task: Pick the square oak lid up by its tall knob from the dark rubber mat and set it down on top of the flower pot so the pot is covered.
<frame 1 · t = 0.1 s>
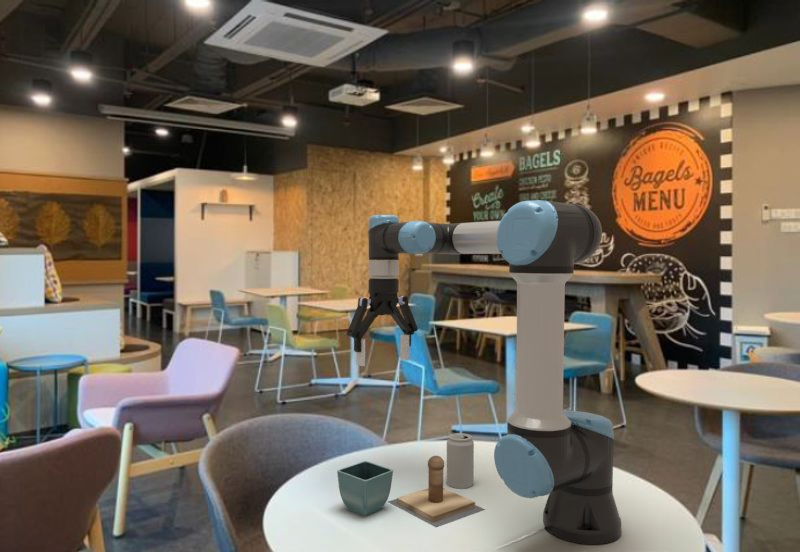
hand: (383, 362, 152), 28 cm above the table, fingers open, 13 cm apart
beverage can: (459, 487, 144), on the table
mat: (435, 508, 132), on the table
flower pot: (365, 512, 130), on the table
lid: (435, 505, 132), point 1 cm above the table, touching mat
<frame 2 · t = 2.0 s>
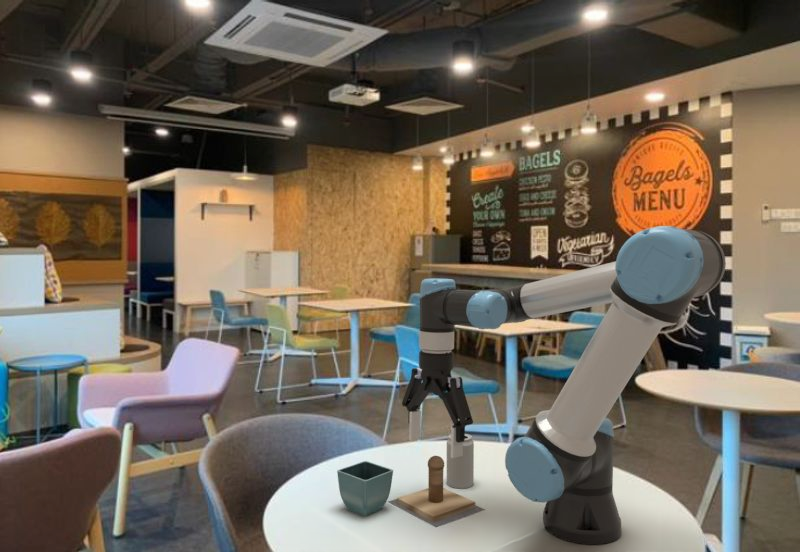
hand: (434, 448, 131), 13 cm above the table, fingers open, 13 cm apart
nothing on the table moved.
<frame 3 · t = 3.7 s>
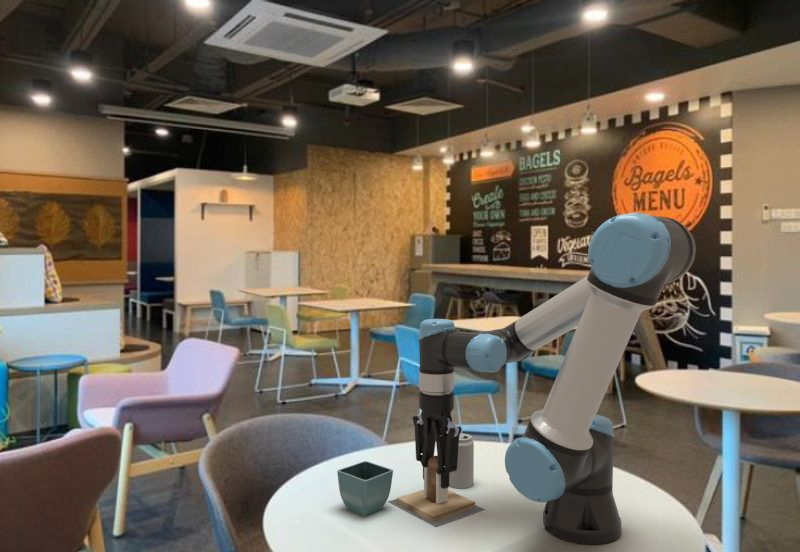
hand: (435, 498, 132), 2 cm above the table, fingers closed on lid, 3 cm apart
lid: (435, 505, 132), point 1 cm above the table, touching gripper, mat
everything else where it was.
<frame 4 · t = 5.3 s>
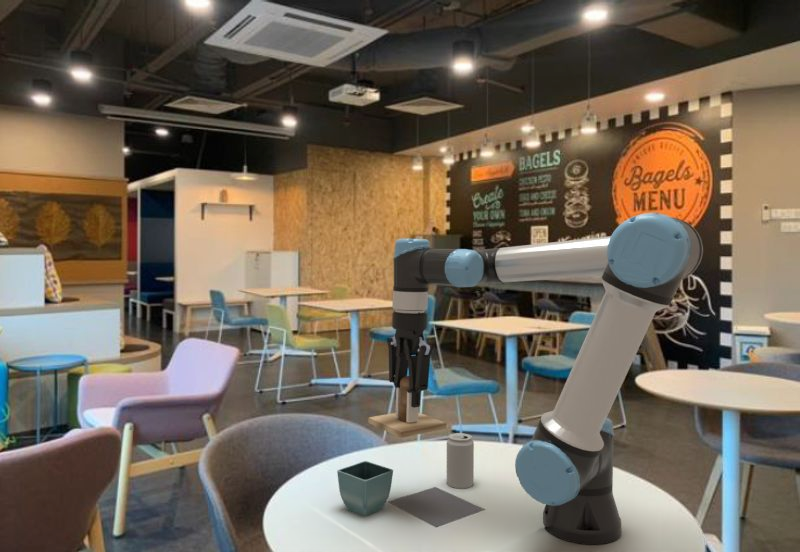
hand: (406, 418, 131), 19 cm above the table, fingers closed on lid, 3 cm apart
lid: (406, 425, 131), point 18 cm above the table, touching gripper
everything else where it was.
when the fingers open (12 cm above the table, at t = 6.9 s): lid drops 2 cm, resting on flower pot.
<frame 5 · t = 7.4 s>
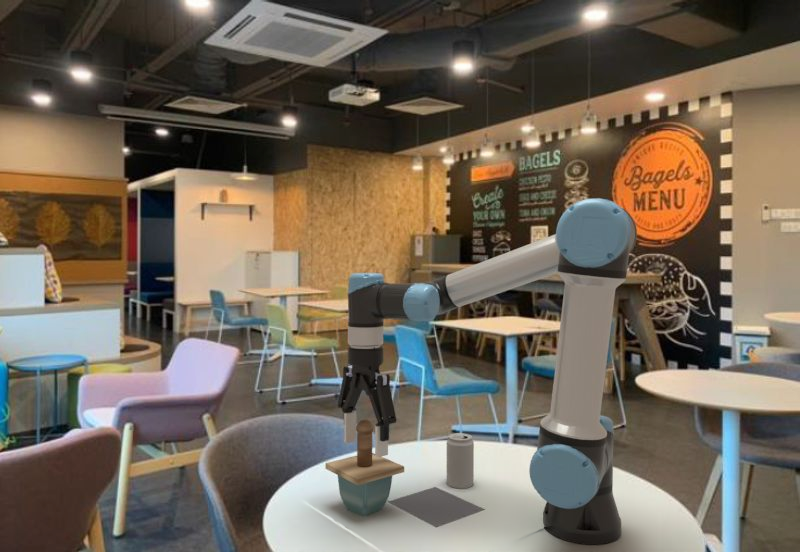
hand: (365, 448, 129), 13 cm above the table, fingers open, 11 cm apart
flower pot: (365, 512, 130), on the table, touching lid
lid: (364, 470, 129), point 9 cm above the table, touching flower pot
everything else where it was.
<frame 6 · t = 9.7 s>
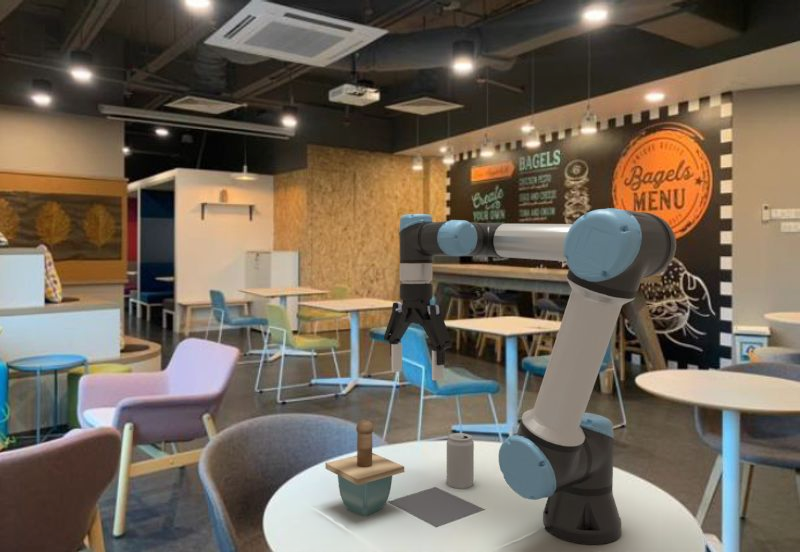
hand: (416, 375, 139), 27 cm above the table, fingers open, 13 cm apart
nothing on the table moved.
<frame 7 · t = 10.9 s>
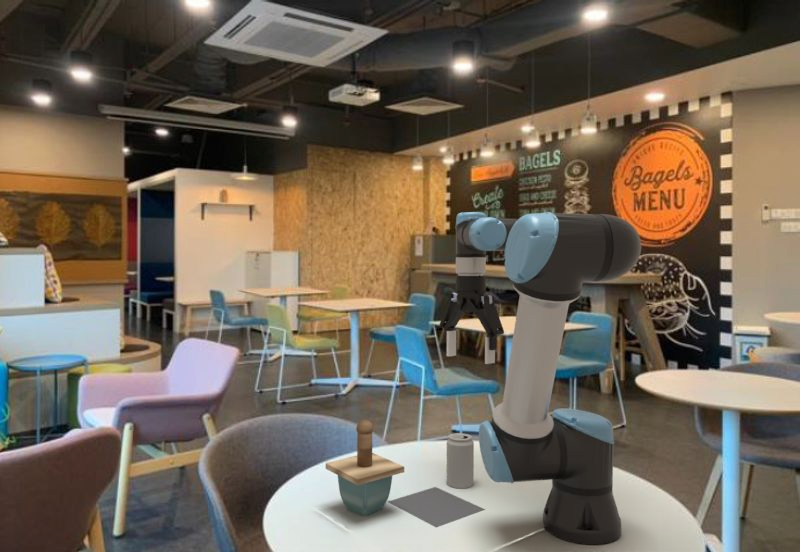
hand: (469, 359, 152), 29 cm above the table, fingers open, 13 cm apart
nothing on the table moved.
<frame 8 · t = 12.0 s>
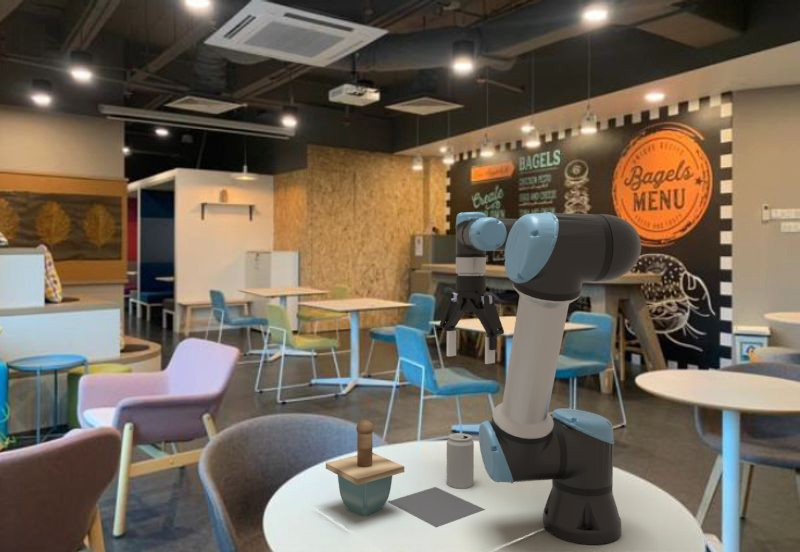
hand: (470, 359, 152), 29 cm above the table, fingers open, 13 cm apart
nothing on the table moved.
at the end: lid inside the target area on the flower pot (0.2 cm from its centre), point 9.1 cm above the flower pot's base; lid tilted 0°; the gripper is holding nothing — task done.
